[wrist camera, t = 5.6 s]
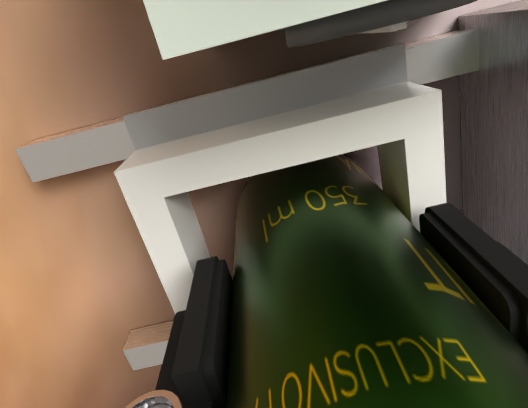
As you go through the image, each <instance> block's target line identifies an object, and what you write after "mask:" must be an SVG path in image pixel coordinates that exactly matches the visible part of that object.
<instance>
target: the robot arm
mask: <svg viewBox="0 0 528 408" xmlns="http://www.w3.org/2000/svg"><path fill="white" fill-rule="evenodd" d="M419 224H420V233H421V234H422V235H423V237H424V238H425V239H426V240H427V241H428V242H429V243H430V244H431V246H432V247H433V248H434V249H435V250H436V251H437V252H438V253H439V254H440V256H441V257H442V258H443V259H444V260H445V261H446V262H447V263H448V265H449V266H450V267H451V268H452V269H453V270H454V271H455V272H456V273H457V275H458V276H459V277H460V278H461V279H462V280H463V281H464V282H465V284H466V285H467V286H468V287H469V288H470V289H471V290H472V291H473V292H474V294H475V295H476V296H477V297H478V298H479V299H480V300H481V301H482V303H483V304H484V305H485V306H486V307H487V308H488V309H489V310H490V311H491V313H492V314H493V315H494V316H495V317H496V318H497V319H498V320H499V322H500V323H501V324H502V325H503V326H504V327H505V328H506V329H507V330H508V332H509V333H510V334H511V335H512V336H513V337H514V338H515V339H516V341H517V342H518V343H519V344H520V345H521V346H522V347H523V348H524V349H525V351H526V352H527V353H528V265H527V264H526V263H525V262H524V261H522V260H521V259H520V258H519V257H517V256H516V255H515V254H514V253H512V252H511V251H510V250H509V249H507V248H506V247H505V246H504V245H503V244H501V243H499V242H498V241H495V240H494V239H493V238H492V237H490V236H489V235H488V234H487V233H485V232H484V231H483V230H482V229H480V228H479V227H478V226H477V225H476V224H474V223H473V222H472V221H471V220H469V219H468V218H467V217H466V216H464V215H463V214H462V213H461V212H460V211H458V210H457V209H456V208H455V207H453V206H452V205H451V204H449V203H443V204H439V205H434V206H430V207H426V209H425V213H423V214H420V216H419ZM232 282H233V280H232V277H231V274H230V271H229V268H228V265H227V263H226V261H225V259H224V260H220V261H219V259H218V257H217V256H215V257H210V258H206V259H202V260H198V261H197V263H196V267H195V271H194V276H193V280H192V285H191V289H190V294H189V298H188V302H187V307H186V310H183V311H179V312H177V313H176V315H175V317H174V321H173V325H172V328H171V332H170V336H169V340H168V344H167V348H166V351H165V355H164V359H163V363H162V367H161V371H160V374H159V378H158V382H157V386H156V390H154V391H151V392H148V393H145V394H143V395H141V396H139V397H138V398H136V399H134V400H133V401H132V402H131V403H130V404H129V405H127V406H126V407H125V408H225V401H226V384H227V367H228V350H229V333H230V316H231V299H232Z"/></svg>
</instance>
